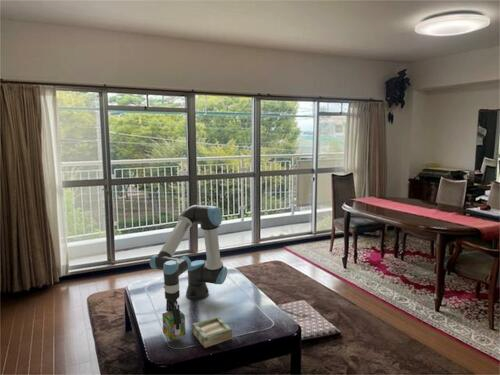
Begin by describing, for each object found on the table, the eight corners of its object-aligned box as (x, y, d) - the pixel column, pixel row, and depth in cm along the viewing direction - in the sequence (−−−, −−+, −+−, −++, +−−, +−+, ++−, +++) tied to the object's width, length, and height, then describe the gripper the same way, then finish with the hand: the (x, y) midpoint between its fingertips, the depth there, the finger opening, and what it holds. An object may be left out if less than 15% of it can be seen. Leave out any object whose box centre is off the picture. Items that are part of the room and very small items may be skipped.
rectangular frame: (192, 332, 200) (192, 323, 199) (218, 324, 208) (218, 315, 207) (204, 348, 186) (204, 338, 185) (232, 338, 194) (231, 329, 193)
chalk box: (162, 333, 194) (161, 307, 191) (178, 327, 199) (176, 302, 197) (170, 341, 187) (168, 315, 184) (186, 334, 192) (184, 309, 189)
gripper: (158, 284, 196) (161, 321, 200) (172, 301, 177) (174, 342, 181) (171, 280, 199) (174, 317, 204) (186, 297, 181) (188, 337, 185)
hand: (174, 329), depth 193 cm, fingers closed on chalk box, 9 cm apart
